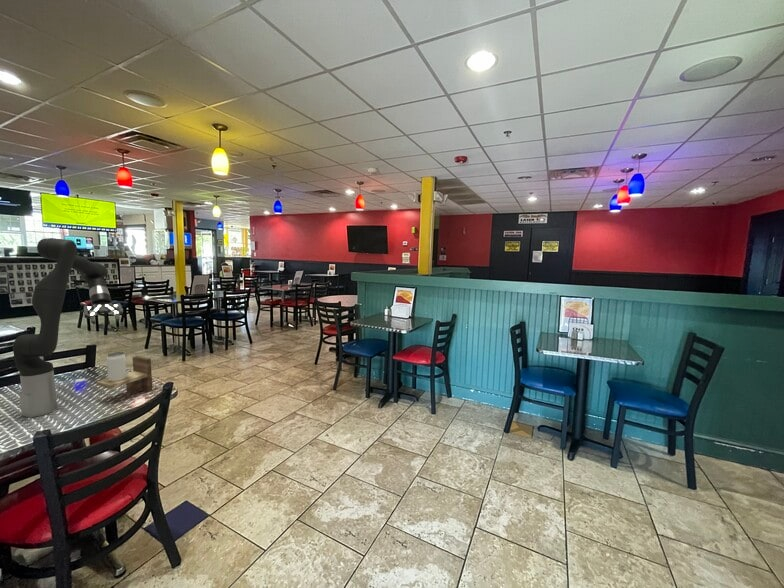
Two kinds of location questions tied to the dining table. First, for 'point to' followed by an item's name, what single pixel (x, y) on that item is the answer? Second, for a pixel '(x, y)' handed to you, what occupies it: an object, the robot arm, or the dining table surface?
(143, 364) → the wooden l-shaped bracket
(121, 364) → the can
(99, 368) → the dining table surface
